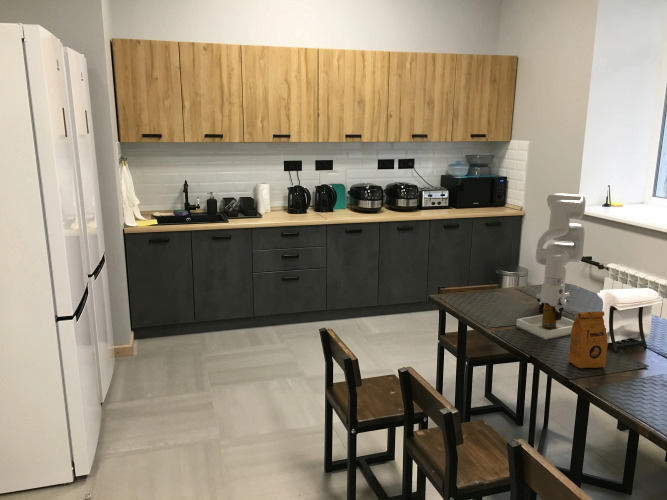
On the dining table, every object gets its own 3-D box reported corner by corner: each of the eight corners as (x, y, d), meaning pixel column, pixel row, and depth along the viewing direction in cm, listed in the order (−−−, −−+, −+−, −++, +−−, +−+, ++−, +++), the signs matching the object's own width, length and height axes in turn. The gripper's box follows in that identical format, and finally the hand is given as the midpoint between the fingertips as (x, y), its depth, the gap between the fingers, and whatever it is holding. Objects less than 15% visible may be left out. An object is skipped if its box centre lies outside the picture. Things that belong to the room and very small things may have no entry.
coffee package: (608, 370, 217) (615, 315, 213) (577, 371, 216) (583, 316, 212) (595, 359, 227) (600, 307, 222) (565, 360, 226) (570, 307, 221)
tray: (551, 319, 273) (552, 312, 272) (582, 331, 257) (582, 324, 257) (516, 326, 264) (516, 319, 263) (545, 339, 248) (546, 331, 247)
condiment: (546, 323, 265) (548, 299, 263) (563, 328, 259) (565, 303, 256) (537, 327, 261) (539, 302, 258) (554, 332, 255) (557, 306, 252)
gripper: (574, 284, 249) (570, 321, 253) (544, 274, 265) (541, 309, 269) (561, 286, 246) (558, 323, 250) (532, 276, 262) (529, 312, 265)
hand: (549, 316), depth 259 cm, fingers open, 9 cm apart
